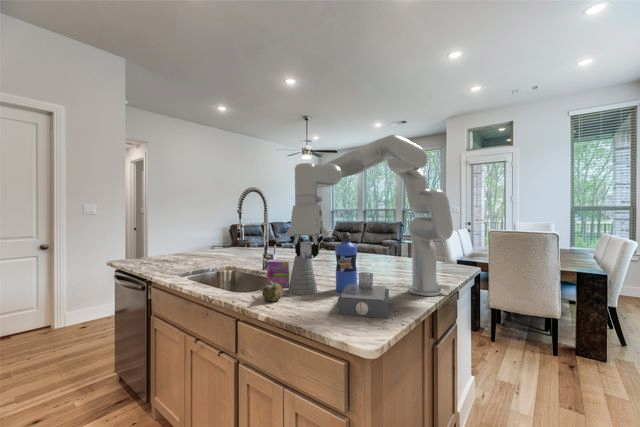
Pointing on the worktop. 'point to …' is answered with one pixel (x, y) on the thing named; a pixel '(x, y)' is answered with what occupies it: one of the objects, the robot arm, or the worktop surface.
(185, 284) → the worktop surface
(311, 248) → the cylinder
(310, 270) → the soap bottle
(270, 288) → the onion
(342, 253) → the blue bottle
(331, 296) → the worktop surface
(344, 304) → the base
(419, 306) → the worktop surface
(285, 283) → the box
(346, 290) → the pan
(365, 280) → the cylinder
